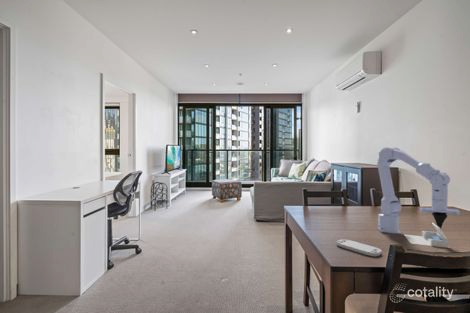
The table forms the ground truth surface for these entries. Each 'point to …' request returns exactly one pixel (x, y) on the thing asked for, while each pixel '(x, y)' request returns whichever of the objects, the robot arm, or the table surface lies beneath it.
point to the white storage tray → (428, 239)
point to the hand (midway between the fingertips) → (439, 229)
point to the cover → (439, 230)
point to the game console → (359, 247)
